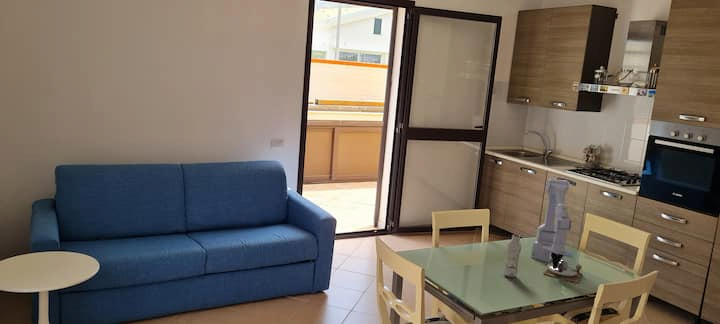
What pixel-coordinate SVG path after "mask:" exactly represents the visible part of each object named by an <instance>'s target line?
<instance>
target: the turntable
mask: <svg viewBox="0 0 720 324" xmlns="http://www.w3.org/2000/svg"><path fill="white" fill-rule="evenodd" d="M563 266H564V264H563V263H559V269H558V268H556V269H553V262H548V264H547V265H546V269H547V270H548V271H549V272H551V273H553V274H555V275H558V276H563V277H575V276H576V275H577V269H576V268H575V267H573V266H570V265H568V267H567V270H563Z"/></svg>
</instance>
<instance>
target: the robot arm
mask: <svg viewBox="0 0 720 324" xmlns="http://www.w3.org/2000/svg"><path fill="white" fill-rule="evenodd" d="M569 185H570V184H569V181H568V180H567V179H566V180H563V179H556V178H548V179H547V181H546V184H545V193H546V194H548V195H547V202H546V203H547V204H546V210H545V216H544V223H542V224H541V225H538V227H537V230H536V233H535V239H536V240H533V244H532V248H531V254H530V258H531V259H535V260H539V261H543V262H547V263H550V262H551V261H552V263H553V269H556V268H557V265H558V263H559V261H561V260H563V257H565V258H566V257H567V258H570V259H574V255H575V254H574V253H573V252H569V251H566V250H565V249H566V246H567V245H566V244H567V239H568V234H569V231H571V228H572V220H571V219H572V218H571V217H570V216H569V209H568V206H567V205H566V195H567V192H568V191H569V188H570V186H569Z"/></svg>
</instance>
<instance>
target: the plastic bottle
mask: <svg viewBox="0 0 720 324" xmlns="http://www.w3.org/2000/svg"><path fill="white" fill-rule="evenodd" d="M520 241H521V236H520V235H518V234H512V236H511V240H510V242H508V244H507V247H506V248H507V251H506V253H507V254H506V260H505V264H504V267H503V272H502V273H503V275H504V276H505V277H508V278H515V277H516V276H517V275H518V263H519V258H520V254H521V251H522V245H521V242H520Z"/></svg>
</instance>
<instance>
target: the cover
mask: <svg viewBox="0 0 720 324" xmlns="http://www.w3.org/2000/svg"><path fill="white" fill-rule="evenodd" d="M559 263H563V264H564V266H563V270H567V267H568V266H569V263H568V262H567V260H565V259H561V260H560V261H559ZM559 263H558V265H557V268H558V269H559Z"/></svg>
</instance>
